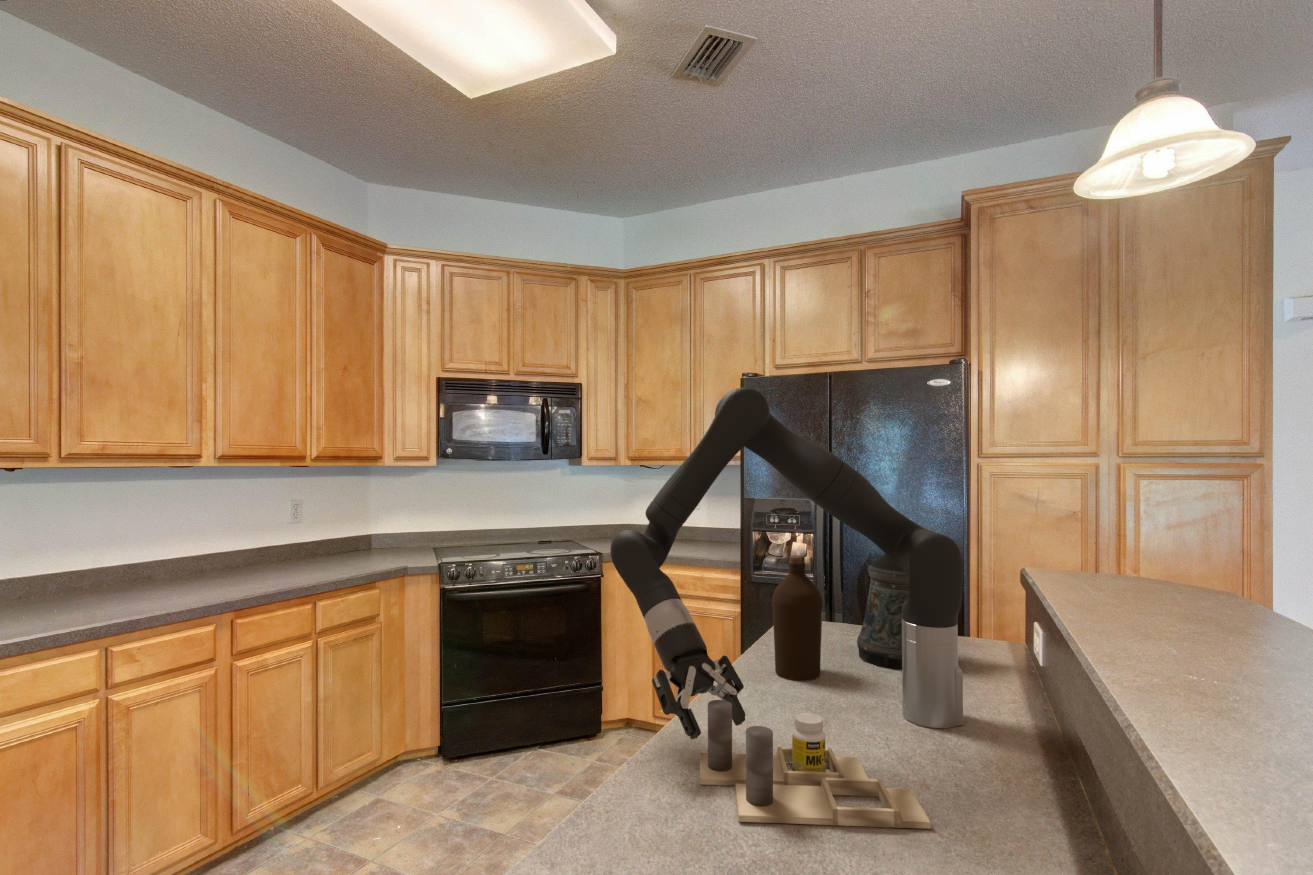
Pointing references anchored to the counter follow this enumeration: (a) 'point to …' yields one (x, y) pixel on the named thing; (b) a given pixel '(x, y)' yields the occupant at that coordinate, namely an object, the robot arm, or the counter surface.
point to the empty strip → (817, 795)
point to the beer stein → (884, 615)
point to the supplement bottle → (808, 743)
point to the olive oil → (797, 624)
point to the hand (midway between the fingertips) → (719, 729)
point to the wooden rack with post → (732, 767)
